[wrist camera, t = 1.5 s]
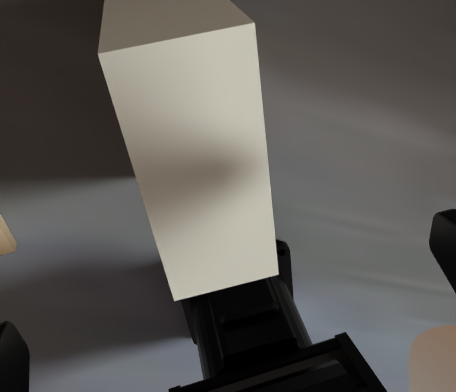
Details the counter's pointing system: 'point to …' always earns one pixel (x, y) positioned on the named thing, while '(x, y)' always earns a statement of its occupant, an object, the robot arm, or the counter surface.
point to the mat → (6, 239)
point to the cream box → (194, 136)
